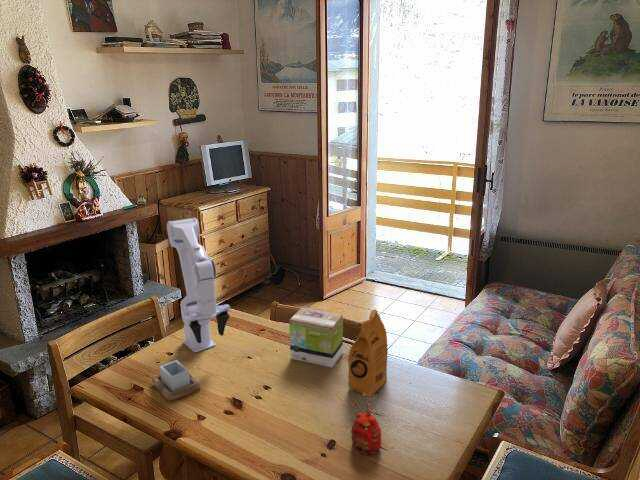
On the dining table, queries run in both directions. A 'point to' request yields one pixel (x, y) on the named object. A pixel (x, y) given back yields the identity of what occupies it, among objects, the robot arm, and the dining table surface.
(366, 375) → the coffee package
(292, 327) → the tea box
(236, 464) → the dining table surface
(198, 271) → the robot arm
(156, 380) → the shallow brown tray
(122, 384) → the dining table surface
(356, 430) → the red clay folk toy
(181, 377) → the small crate
